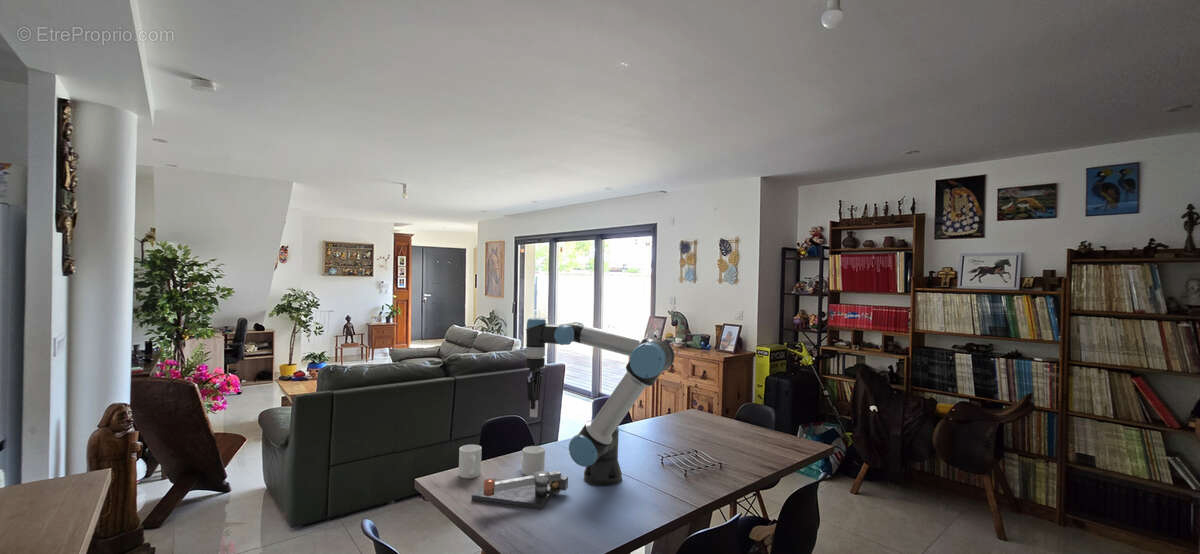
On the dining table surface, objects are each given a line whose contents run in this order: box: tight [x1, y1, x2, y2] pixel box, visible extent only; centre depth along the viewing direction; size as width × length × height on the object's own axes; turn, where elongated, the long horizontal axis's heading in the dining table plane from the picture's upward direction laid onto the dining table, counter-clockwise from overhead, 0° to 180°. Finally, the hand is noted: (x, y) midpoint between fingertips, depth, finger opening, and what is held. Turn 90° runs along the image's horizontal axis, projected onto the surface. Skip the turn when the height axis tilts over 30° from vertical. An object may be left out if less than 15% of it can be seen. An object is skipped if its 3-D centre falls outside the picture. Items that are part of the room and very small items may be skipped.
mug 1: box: [458, 444, 483, 479], centre depth 195 cm, size 9×12×11 cm
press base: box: [471, 475, 569, 511], centre depth 177 cm, size 30×16×6 cm, turn 77°
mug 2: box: [519, 445, 546, 476], centre depth 202 cm, size 12×9×9 cm
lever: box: [483, 470, 562, 496], centre depth 172 cm, size 28×6×4 cm, turn 119°
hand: (533, 416), depth 195 cm, fingers closed
